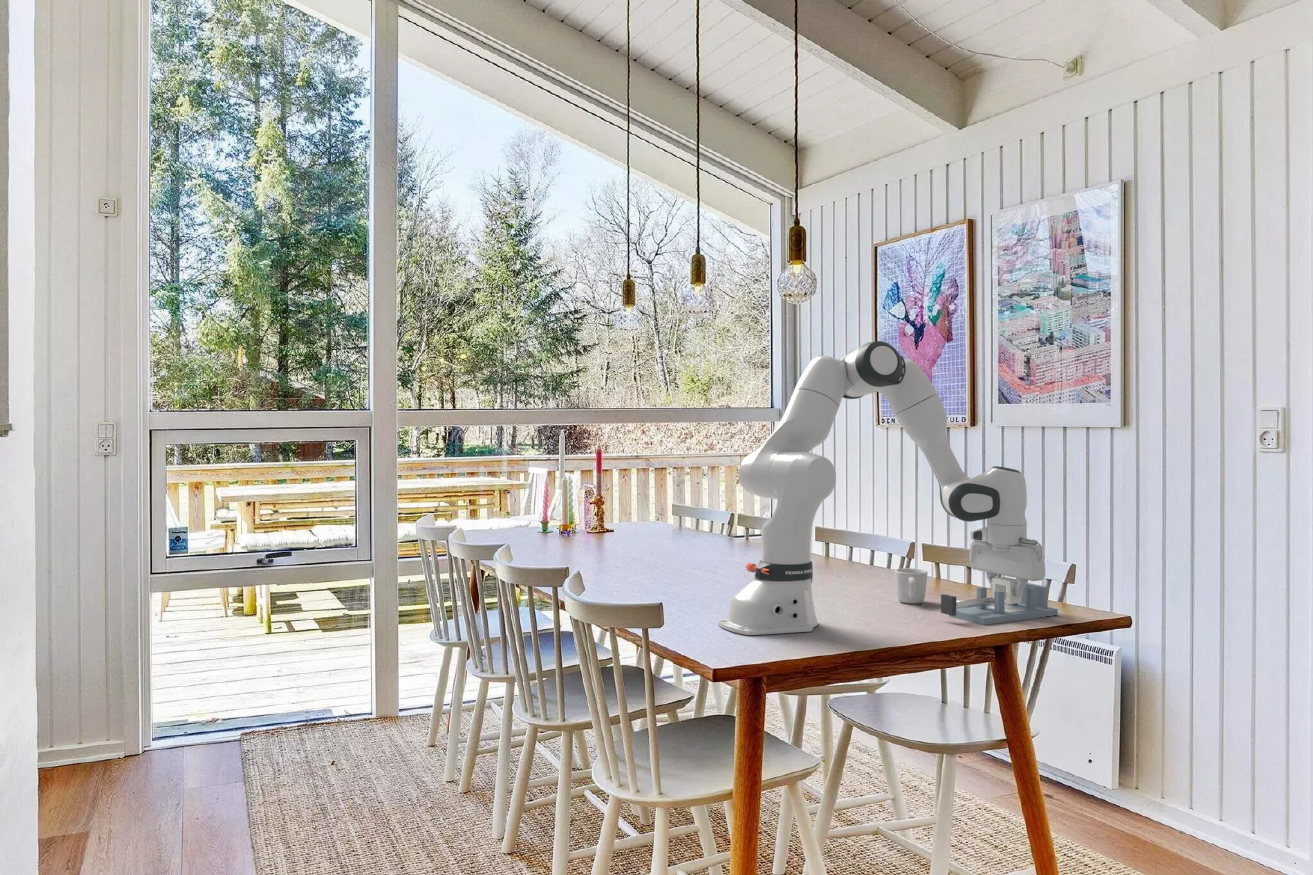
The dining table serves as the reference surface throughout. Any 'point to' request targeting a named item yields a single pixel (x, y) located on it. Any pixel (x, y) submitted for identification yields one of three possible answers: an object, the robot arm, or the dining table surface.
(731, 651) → the dining table surface
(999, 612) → the block
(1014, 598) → the bracket
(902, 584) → the cup
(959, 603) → the shaft
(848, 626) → the dining table surface
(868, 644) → the dining table surface
